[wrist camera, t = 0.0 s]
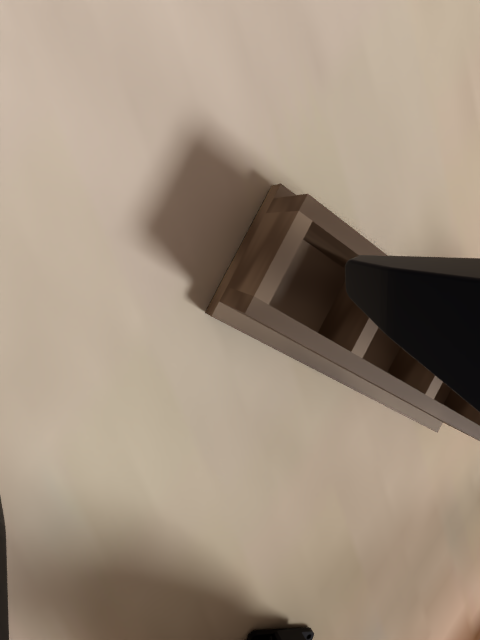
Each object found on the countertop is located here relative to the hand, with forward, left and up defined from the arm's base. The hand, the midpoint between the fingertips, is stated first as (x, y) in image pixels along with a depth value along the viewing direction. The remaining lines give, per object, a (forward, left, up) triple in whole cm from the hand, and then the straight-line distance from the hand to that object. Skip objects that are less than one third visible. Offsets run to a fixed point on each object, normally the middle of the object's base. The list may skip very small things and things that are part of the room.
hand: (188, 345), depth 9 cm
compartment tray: (+3, -18, -15) cm, 24 cm away
